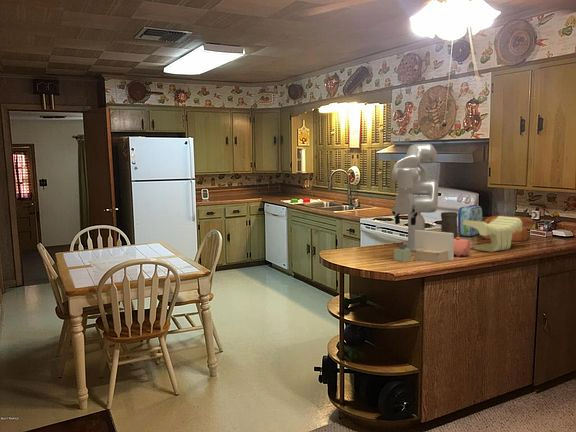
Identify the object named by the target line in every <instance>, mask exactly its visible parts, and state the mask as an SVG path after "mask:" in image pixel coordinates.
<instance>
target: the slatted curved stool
mask: <svg viewBox="0 0 576 432" xmlns="http://www.w3.org/2000/svg"><path fill="white" fill-rule="evenodd" d="M497 216H498V217H497V219H495V220H493V221H492V222H490V223H489V224H487V223H484V221H482V222H480V221H470V220H463V225H467V226H470V227H473V228H475V229H478V231H479V234H478V235H479V236H482V235H484V236H487V235H489V236H490V238H491V239H490V241H491V243H484V244H475V245H474V246H473V250H479V251H484V252H489V253H492V252H500V251H507V250H510V248H511V245H512V241H511V239H512V233H514V232H515V231H522V221H521V220H520V219H519V218H520V217H518V218H516V217H517V216H508V217H504V216H505V215H497Z"/></svg>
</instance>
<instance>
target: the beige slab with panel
mask: <svg viewBox="0 0 576 432" xmlns="http://www.w3.org/2000/svg"><path fill="white" fill-rule="evenodd" d="M454 256H455V255H454V233H445V232H441V231H434V230H433V231H432V230H425V231H421V230H415V250H414V251H413V260H416V261H423V262H429V263H437V264H438V263H442V262H446V261H454Z"/></svg>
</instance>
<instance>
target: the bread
mask: <svg viewBox="0 0 576 432" xmlns="http://www.w3.org/2000/svg"><path fill="white" fill-rule="evenodd" d="M498 216H499V215H493V216H488V217H487V218H486V219H485V220H484V221H483V222H484V223H487V224H489V223H490V222H492V221H493V220H495V219H497V217H498ZM503 216H504V217H509V216H507V215H503ZM515 217H516V218H519V219H520V220H521V221H522V231H515V232H514V233H512V239H511V242H524V241H527V239H528V238H529V236H528V235H529V234H528V229H527V223H526V221H525V220H524V219H523V218H522V217H517V216H515ZM481 238H482V239H484V238H485V239H484V240H491V238H490V236H489V235H487V236H484V235H481Z"/></svg>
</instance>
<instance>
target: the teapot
mask: <svg viewBox="0 0 576 432" xmlns="http://www.w3.org/2000/svg"><path fill="white" fill-rule="evenodd" d="M471 242H472V240H468V239H464V238H461V236H460V237H459V236H457V237H456V239H454V256H456V258H461V256H462V257H467V255H469V254H470V251H471V249H470V248H471V247H470V246H471V245H470V244H471Z"/></svg>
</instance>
